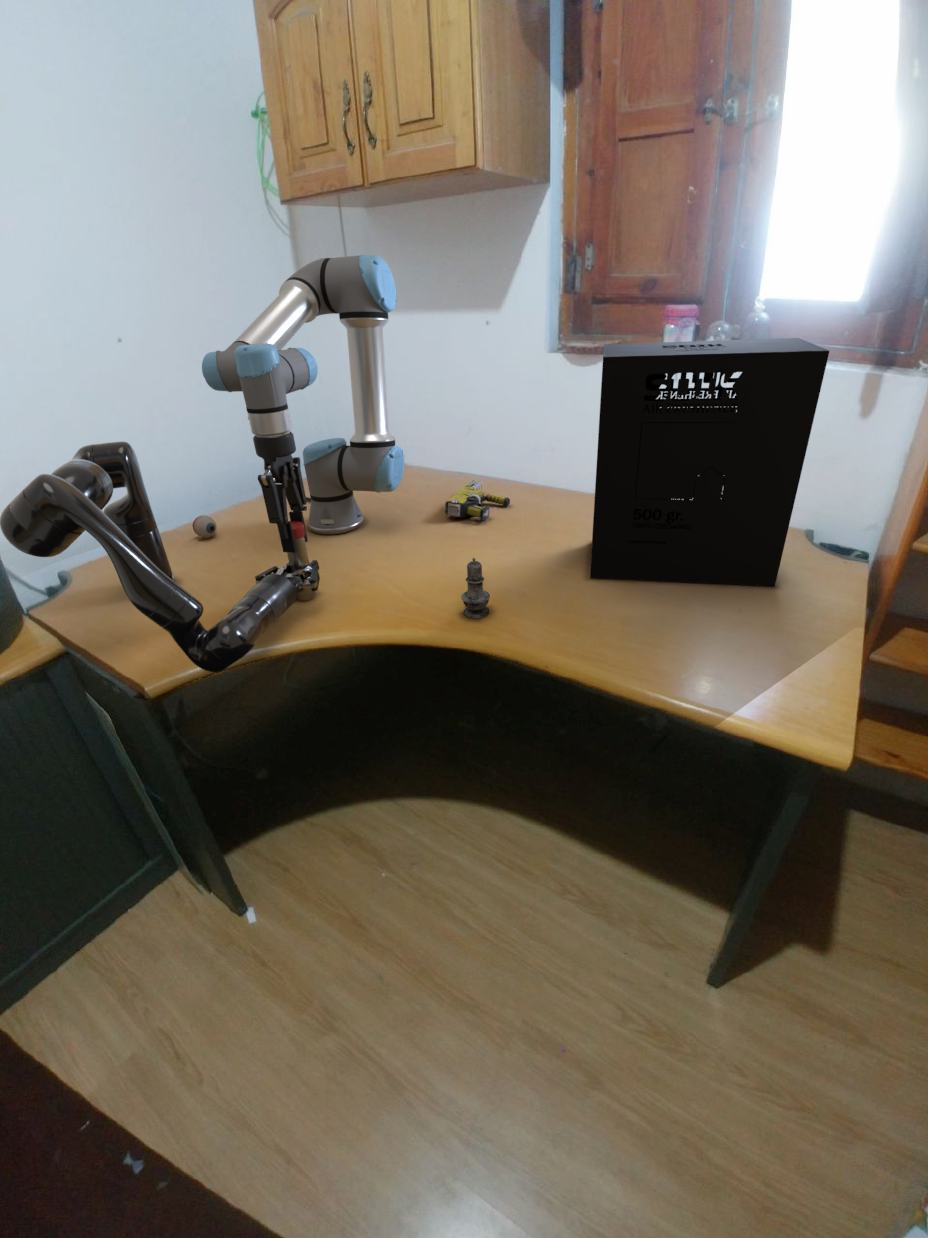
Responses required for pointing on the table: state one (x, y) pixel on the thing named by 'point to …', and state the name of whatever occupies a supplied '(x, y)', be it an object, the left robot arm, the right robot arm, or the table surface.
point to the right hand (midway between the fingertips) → (295, 546)
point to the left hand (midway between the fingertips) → (305, 563)
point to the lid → (298, 529)
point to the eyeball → (204, 526)
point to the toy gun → (472, 502)
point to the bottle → (300, 566)
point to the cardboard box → (701, 458)
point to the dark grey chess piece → (475, 592)
